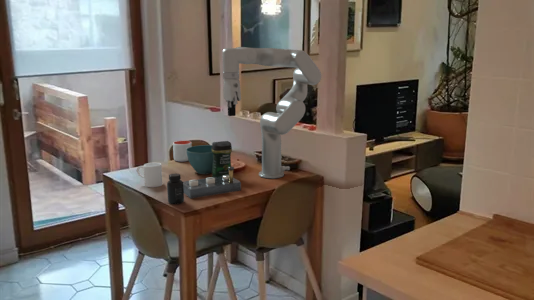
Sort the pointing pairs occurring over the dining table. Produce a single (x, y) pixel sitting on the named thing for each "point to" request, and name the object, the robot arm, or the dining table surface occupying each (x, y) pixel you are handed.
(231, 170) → the post
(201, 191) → the mount
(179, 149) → the cup
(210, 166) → the teal bowl
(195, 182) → the knob far
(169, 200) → the supplement bottle
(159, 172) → the mug
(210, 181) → the knob mid
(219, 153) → the coffee jar
